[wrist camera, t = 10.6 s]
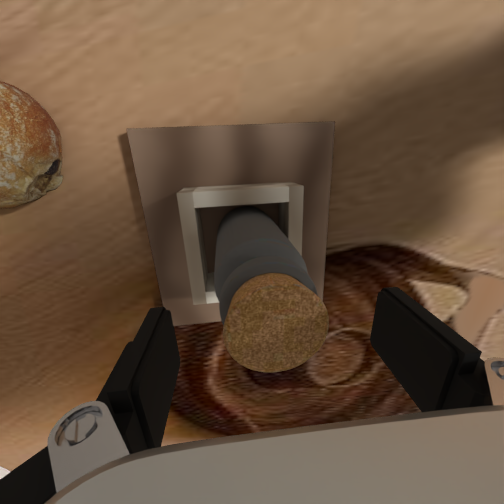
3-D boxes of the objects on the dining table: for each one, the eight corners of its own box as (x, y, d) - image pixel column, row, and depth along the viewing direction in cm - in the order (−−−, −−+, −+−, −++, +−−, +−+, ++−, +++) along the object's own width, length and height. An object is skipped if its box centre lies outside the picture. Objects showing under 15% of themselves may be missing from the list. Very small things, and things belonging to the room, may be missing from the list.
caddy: (329, 123, 23) (358, 113, 18) (318, 304, 30) (336, 332, 25) (131, 130, 21) (104, 121, 16) (169, 320, 28) (158, 353, 23)
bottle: (210, 253, 25) (195, 374, 11) (225, 198, 23) (230, 256, 9) (264, 266, 26) (313, 390, 12) (282, 214, 24) (364, 288, 10)
